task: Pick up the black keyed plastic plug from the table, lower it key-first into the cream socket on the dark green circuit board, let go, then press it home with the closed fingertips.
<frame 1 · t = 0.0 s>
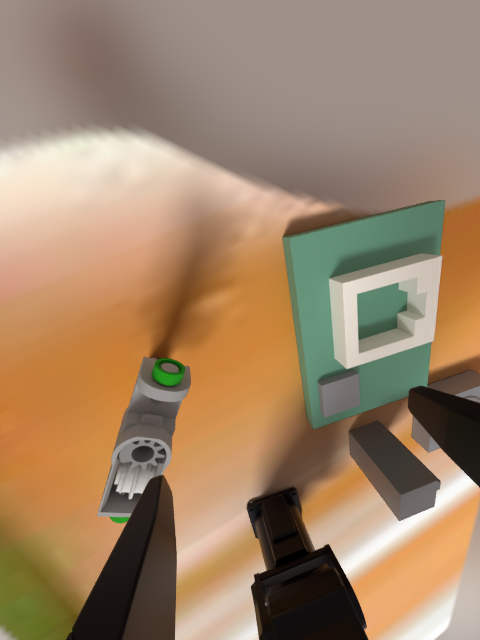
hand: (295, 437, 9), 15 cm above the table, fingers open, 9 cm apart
mechanical component: (157, 363, 23), on the table
board: (361, 323, 26), on the table
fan: (440, 404, 33), on the table
plug: (363, 437, 32), on the table
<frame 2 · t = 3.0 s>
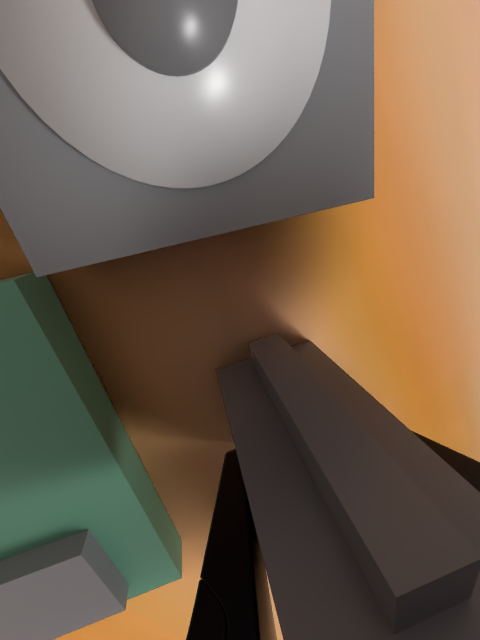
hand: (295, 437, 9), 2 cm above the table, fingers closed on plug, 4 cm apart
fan: (169, 71, 7), on the table
plug: (271, 393, 11), on the table, touching gripper
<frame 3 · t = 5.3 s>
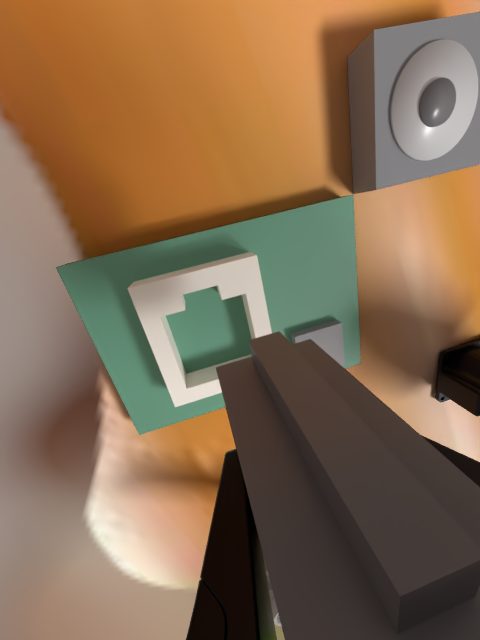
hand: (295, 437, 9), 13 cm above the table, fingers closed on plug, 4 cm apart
board: (234, 318, 21), on the table
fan: (401, 120, 18), on the table
plug: (272, 392, 11), point 11 cm above the table, touching gripper
when the fingers open (5 cm above the table, at t = 7.6 s): plug stays where it is, resting on board.
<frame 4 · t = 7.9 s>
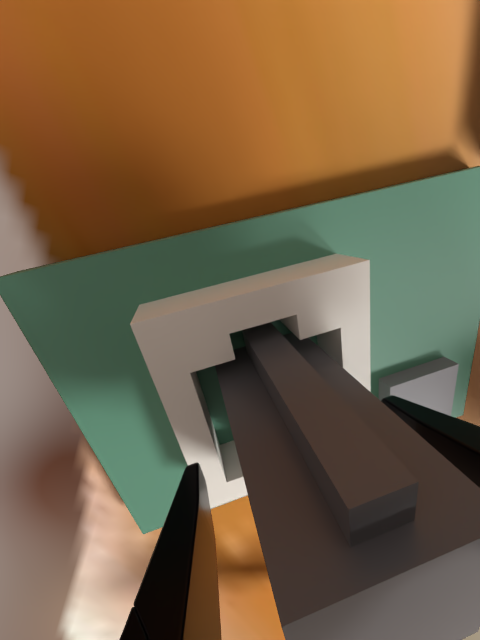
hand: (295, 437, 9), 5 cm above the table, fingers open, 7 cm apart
board: (291, 354, 14), on the table
plug: (264, 380, 12), point 2 cm above the table, touching board
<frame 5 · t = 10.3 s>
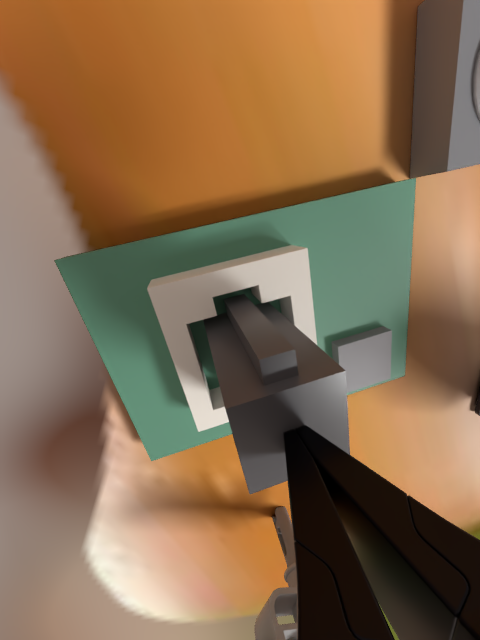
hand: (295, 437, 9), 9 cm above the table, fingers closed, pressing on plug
mechanical component: (278, 510, 25), on the table
board: (264, 323, 18), on the table
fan: (471, 90, 15), on the table
plug: (242, 339, 16), point 1 cm above the table, touching board, gripper
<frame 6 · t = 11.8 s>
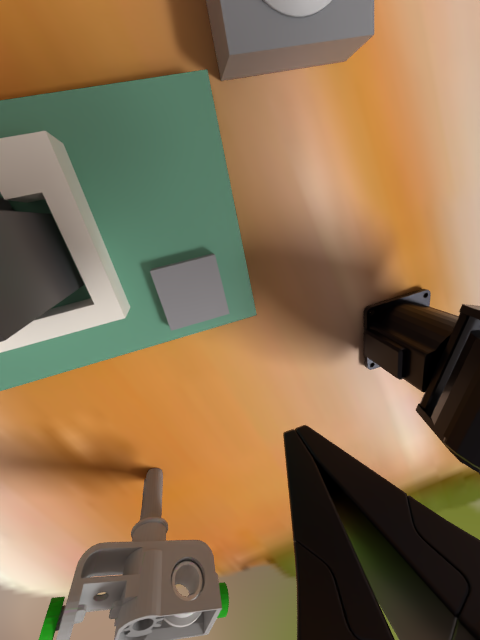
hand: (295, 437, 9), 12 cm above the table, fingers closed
mechanical component: (154, 472, 24), on the table
board: (77, 250, 16), on the table
plug: (30, 259, 14), point 1 cm above the table, touching board
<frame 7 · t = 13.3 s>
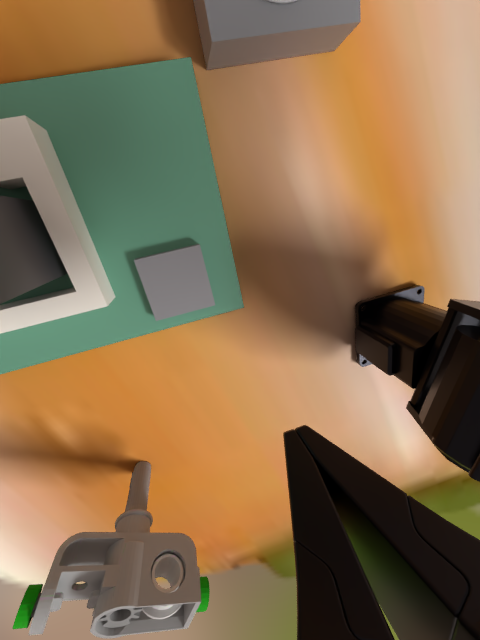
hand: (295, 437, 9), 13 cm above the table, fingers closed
mechanical component: (142, 466, 24), on the table
board: (63, 238, 16), on the table
plug: (15, 246, 14), point 1 cm above the table, touching board
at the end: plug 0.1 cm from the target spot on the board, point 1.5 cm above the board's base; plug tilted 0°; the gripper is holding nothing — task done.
